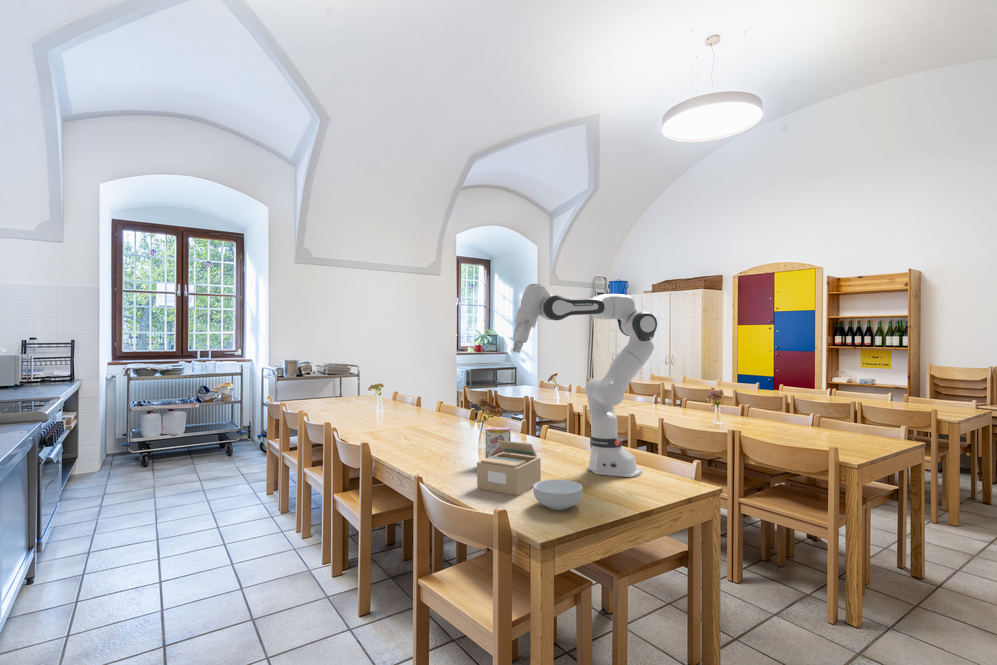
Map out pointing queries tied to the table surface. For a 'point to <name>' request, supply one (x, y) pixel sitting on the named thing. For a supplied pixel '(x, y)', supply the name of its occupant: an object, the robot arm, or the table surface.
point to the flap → (503, 461)
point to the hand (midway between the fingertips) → (515, 352)
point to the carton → (509, 475)
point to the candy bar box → (496, 440)
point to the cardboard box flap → (517, 448)
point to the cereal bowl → (558, 493)
